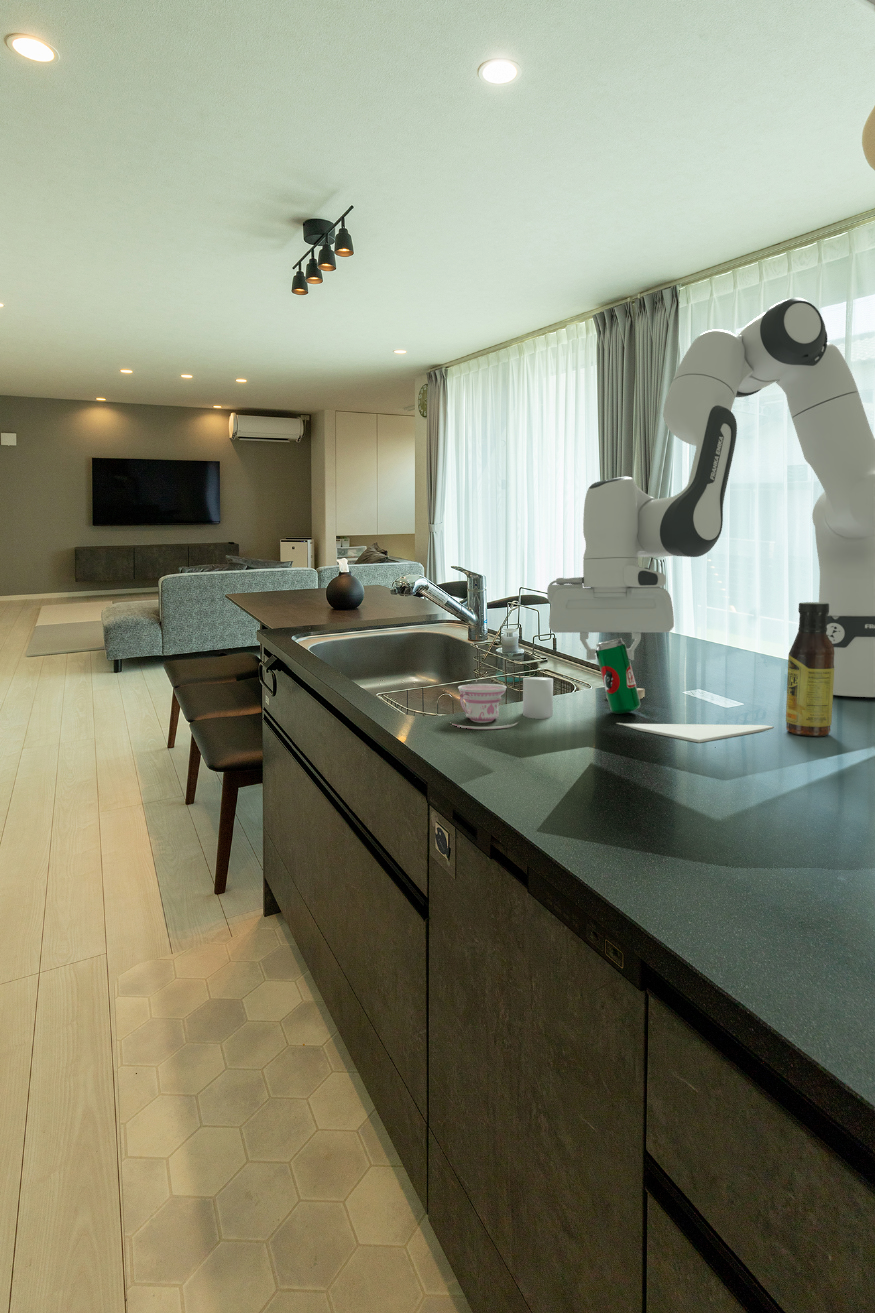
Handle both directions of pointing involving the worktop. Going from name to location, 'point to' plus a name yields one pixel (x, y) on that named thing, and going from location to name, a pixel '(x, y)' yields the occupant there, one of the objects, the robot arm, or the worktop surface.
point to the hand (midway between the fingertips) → (610, 659)
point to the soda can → (617, 676)
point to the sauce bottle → (810, 674)
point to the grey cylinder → (538, 697)
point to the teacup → (481, 703)
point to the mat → (698, 730)
